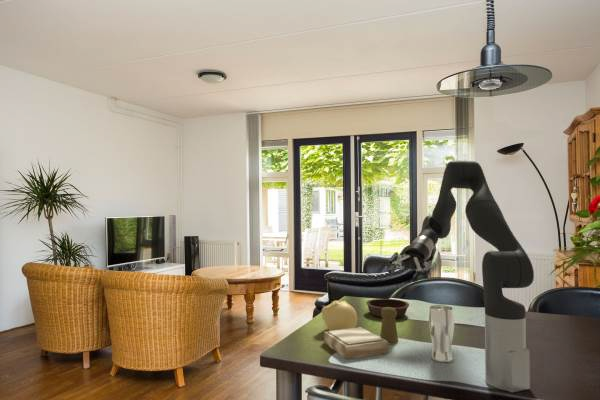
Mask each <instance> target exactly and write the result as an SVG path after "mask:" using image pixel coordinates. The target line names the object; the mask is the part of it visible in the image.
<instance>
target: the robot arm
mask: <svg viewBox="0 0 600 400" xmlns="http://www.w3.org/2000/svg"><path fill="white" fill-rule="evenodd" d="M452 189H463V190H464V189H469V190H471V192H473V193H472V195H471V196H470V197H469V199H468V201H467V203H466V205H465V211H464V212H465V216H466V219H467V222H468V224H469V226H470V228H471V230H472V231H473V232H474V233H475V234H476V235H477V236H479V238H481V239H482V240H484V241H485V242H486V243H488V244H490V245H492V246H493V247H494V248H495V249H496V250H491V251H490V250H489V251H486V252H485V253H484V255H483V258H482V260H481V272H482V273H481V274H482V287H483V302H484V303H483V304H484V355H485V357H484V364H485V369H484V370H485V371H484V372H485V383H486V384H487V385H489V386H490V387H493V388H495V389H498V390H503V391H507V392H510V393H517V392H521V391H525V390H530V389H531V387H530V386H531V374H530V372H531V369H530V368H531V364H530V363H531V362H530V356H531V355H530V353H531V352H530V350H529V348H527V345H526V344H527V341H526V335H527V333H526V332H527V331H526V328H527V327H526V326H527V325H526V307H525V305H524V304H522V303H521V302H518V301H516V300H513V299H510V298H507V297H506V296H505V295H504V294H503V289H523V288H528V287H530V286H531V285H532V284H533V281H534V279H535V278H534V277H535V272H534V267H533V263H532V262H531V259H530V258H529V255H528V253H527V252H526V250H525V249H524V248H523V246H522V245H521V243H520V242H519V241H518V239H517V238H516V236H515V235H514V233H513V232H512V230H511V229H510V227H509V224H508V222H507V221H506V218H505V216H504V214H503V212H502V209H500V206H499V205H498V202H496V199H495V198H494V196H493V193H492V192H491V189H490V187H489V184H488V182H487V179H486V176H485V173H484V171H483V167H482V166H481V164H480V163H478V161H474V160H455V159H454V160H450V161H449V162H448V163H447V164H446V166H445V169H444V172H443V175H442V180H441V184H440V189H439V195H438V198H437V201H436V204H435V206H434V208H433V210H432V214H428V215H427V216H425V217H424V219H423V220H422V221H423V222H422V225H421V231H420V233H419V234H418V235H417V237H415V239H414V240H413V241H412V242H411V244H410V245H409V246H408V248H407V249H406V251H405V253H404V254H399V253H398V252H397V251H396V252H394V253H393V254H392V255H391V256H390V258H389V259H388V269H387V271H388V275H389V276H392V275H393V274H394V273H395V271H396V270H397V269H403V268H406V269H411V270H415V273H414V274H413V276H412V282H413V283H416V282H418V281H419V280H420V278H421V277H424V278H425V277H427V278H428V277H429V274H430V272H431V270H432V269H433V262H432V260H429V261H427V260H428V258H429V257H430V256H431V254H432V252H433V249H434V248H435V246H436V245H437V243H438V241H439V239H440V240H441V239H445V238H447V237H448V236H449V234H450V232H451V227H452V218H453V216H454V214H455V212H456V210H457V201H456V198H455V196H454V194H453V192H452ZM424 266H425V267H424ZM422 267H424V269H422Z"/></svg>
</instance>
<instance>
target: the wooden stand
mask: <svg viewBox="0 0 600 400" xmlns="http://www.w3.org/2000/svg"><path fill="white" fill-rule="evenodd" d="M323 344H325V345H326V346H328V347H329V348H331V349H332V350H334V351H335V352H336V353H337V354H339V355H340V356H341V357H343V358H344V359H346V360H350V359H351V360H352V359H358V358H363V357H364V358H365V357H370V356H377V354H379V355H383V353H385V354H388V353H389V351H388V348H389V347H388V346H389V344H388V341H386V340H384V339H382V338H381V337H380V336H378V335H377V334H375V333H373V332H371V331H369V330H367V329H366V328H363V327H360V326H359V327H355V328H350V329H341V330H333V331H330V330H328V331H327V330H326V331H323Z"/></svg>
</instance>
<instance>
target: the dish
mask: <svg viewBox="0 0 600 400" xmlns="http://www.w3.org/2000/svg"><path fill="white" fill-rule="evenodd" d="M365 303H366V305H367V308H368V311H369V313H370V314H372V316H375V317H378V318H381V319H383V317H382V316H381V310H382V308H384V307H392V308H395V309H396V311H397V316H396V317H395V319H399V318H402V317H404V316H405V315H406V313H407V310H408V308H409V307H410V303H409V302H407V301H404V300H400V299H396V298H395V299H394V298H392V299H391V298H376V299H370V300H367V301H366V302H365Z"/></svg>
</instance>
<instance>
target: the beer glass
mask: <svg viewBox="0 0 600 400" xmlns="http://www.w3.org/2000/svg"><path fill="white" fill-rule="evenodd" d="M428 321H429V322H428V323H429V330H430V331H429V332H430V338H431V343H432V344H431V345H432V348H431V352H430V353H431V355H430V359H431V358H432V359H433V360H432V359H431V360H432V361H434V360H435V361H434V362H437V361H438V363H443V362H448V363H451V361H452V362H453V360H454V358H453V352H452V345H453V343H452V342H453V339H454V333H455V332H454V331H455V314H454V307H452V306H449V305H445V304H434V305H430V306H429V316H428Z"/></svg>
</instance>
